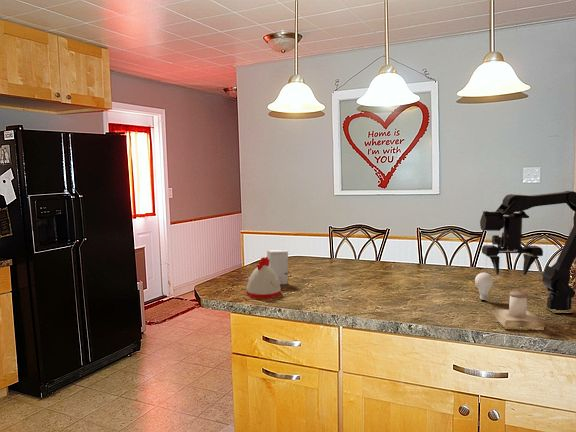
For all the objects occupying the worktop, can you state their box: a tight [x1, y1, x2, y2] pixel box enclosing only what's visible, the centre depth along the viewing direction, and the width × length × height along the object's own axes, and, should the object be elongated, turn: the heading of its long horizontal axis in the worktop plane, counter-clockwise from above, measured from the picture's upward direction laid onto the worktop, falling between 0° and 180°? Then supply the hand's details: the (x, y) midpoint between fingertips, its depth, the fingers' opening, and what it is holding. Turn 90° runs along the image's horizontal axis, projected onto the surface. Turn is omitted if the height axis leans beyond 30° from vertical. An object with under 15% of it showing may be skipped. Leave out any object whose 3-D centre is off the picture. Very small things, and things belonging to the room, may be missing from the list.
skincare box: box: [266, 249, 289, 286], centre depth 206 cm, size 8×6×15 cm
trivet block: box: [490, 309, 546, 328], centre depth 151 cm, size 12×12×3 cm
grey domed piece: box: [246, 256, 282, 299], centre depth 190 cm, size 14×14×15 cm
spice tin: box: [508, 290, 529, 317], centre depth 150 cm, size 5×5×7 cm
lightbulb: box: [474, 272, 494, 301], centre depth 177 cm, size 6×6×11 cm
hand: (510, 274), depth 163 cm, fingers open, 9 cm apart
